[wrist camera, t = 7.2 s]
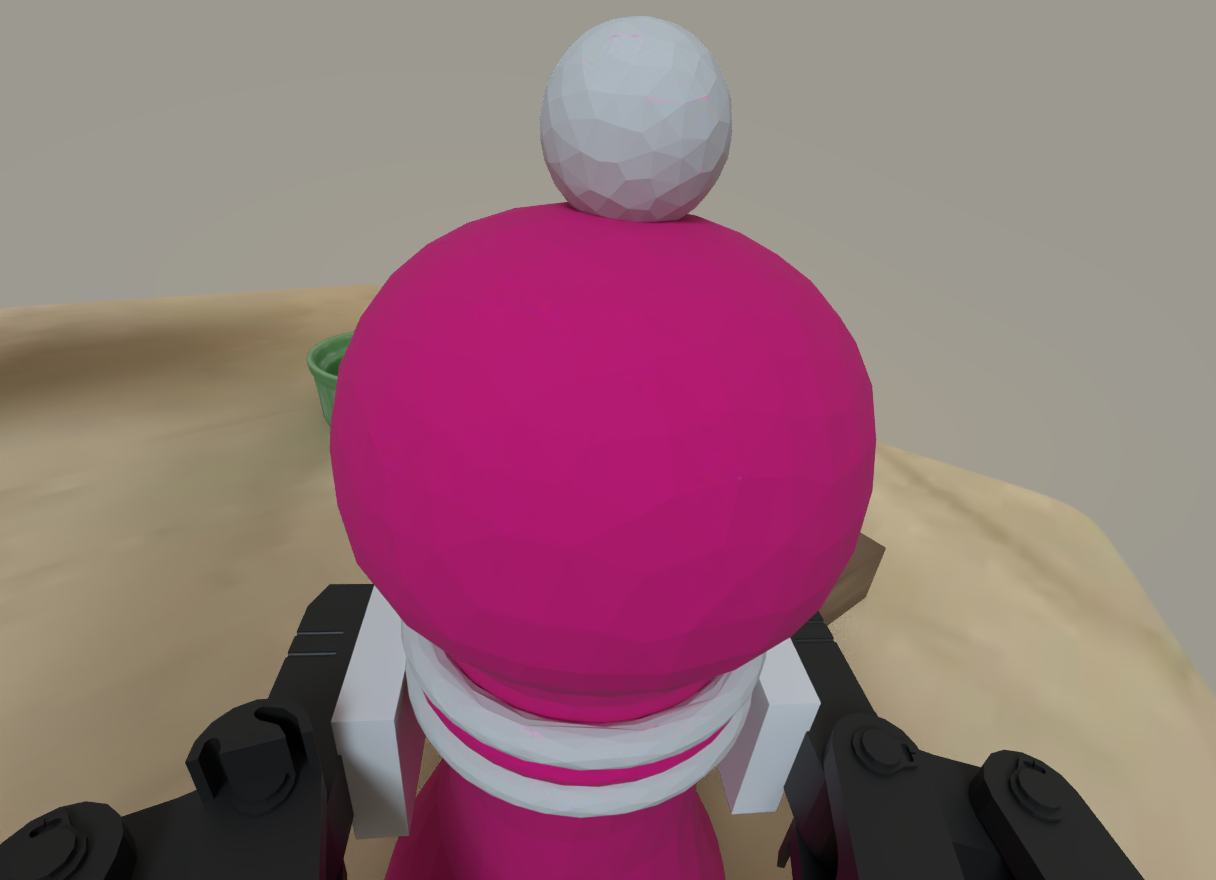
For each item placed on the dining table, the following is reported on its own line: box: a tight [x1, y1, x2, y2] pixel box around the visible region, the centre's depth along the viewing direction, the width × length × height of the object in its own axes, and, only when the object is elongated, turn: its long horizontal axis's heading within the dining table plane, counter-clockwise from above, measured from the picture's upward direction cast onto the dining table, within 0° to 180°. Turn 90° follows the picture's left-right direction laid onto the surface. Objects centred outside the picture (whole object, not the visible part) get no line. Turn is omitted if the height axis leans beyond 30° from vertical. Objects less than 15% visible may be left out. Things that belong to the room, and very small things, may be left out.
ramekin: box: [307, 332, 354, 426], centre depth 39 cm, size 9×9×4 cm
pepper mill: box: [330, 16, 876, 880], centre depth 10 cm, size 7×7×20 cm
